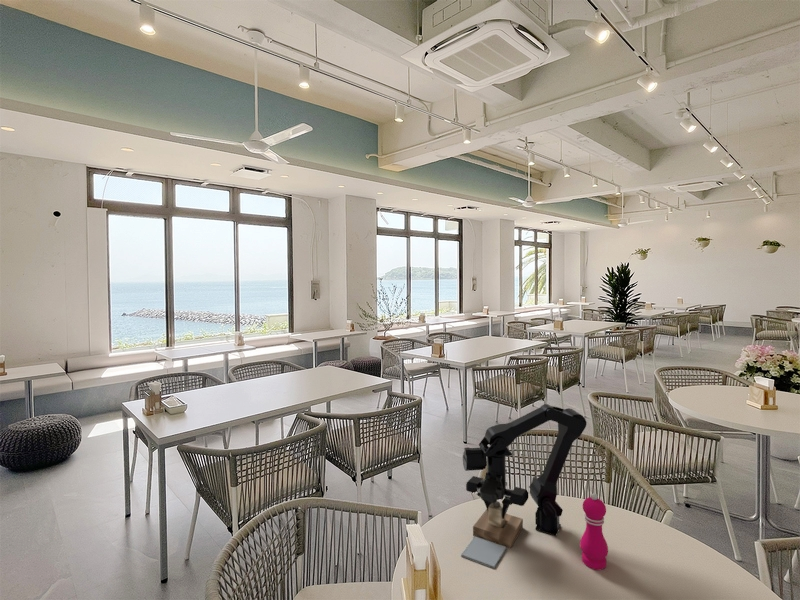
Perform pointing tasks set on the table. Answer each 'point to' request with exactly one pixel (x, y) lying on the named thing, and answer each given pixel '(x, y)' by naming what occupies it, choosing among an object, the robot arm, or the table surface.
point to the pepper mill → (594, 534)
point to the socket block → (498, 530)
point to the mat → (484, 552)
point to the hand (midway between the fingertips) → (496, 516)
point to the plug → (496, 514)
